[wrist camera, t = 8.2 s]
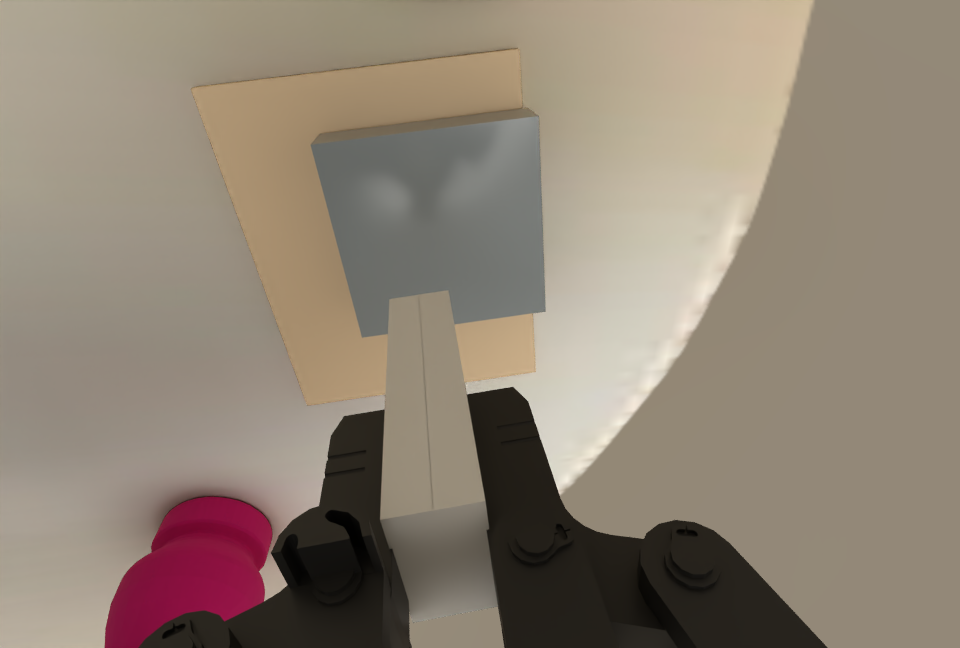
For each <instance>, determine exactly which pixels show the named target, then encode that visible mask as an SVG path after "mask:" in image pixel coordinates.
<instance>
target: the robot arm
mask: <svg viewBox="0 0 960 648" xmlns="http://www.w3.org/2000/svg"><path fill="white" fill-rule="evenodd" d="M271 554H272V556H273V558H274V560H275V562H276V563H277V565H278V567H279V569H280V571H281V573H282V575H283V577H284V579H285V580H286V582H287V584H288V585H287V586H286V587H285V588H284V589H283V590H282V591H281V592H279V593H278V594H276V595H274V596H273V597H271V598H269V599H268V600H266V601H264V602H262V603H260V604H258V605H256V606H254V607H252V608H250V609H248V610H246V611H244V612H242V613H240V614H238V615H236V616H234V617H232V618H230V619H228V620H226V621H224V620H223V619H222V618H221V616H220V615H218V614H215V613H212V612H209V611H205V610H202V611H196V612H189V613H185V614H182V615H180V616H178V617H176V618H174V619H172V620H170V621H168V622H166V623H164V624H163V625H162V626H161V627H159V628H158V629H157V630H156V631H154V632H153V633H152V634H151V635H150V636H148V637H147V638H146V639H145V640H144V641H143V642H142V644H141V645H140V646H139V647H138V648H412V646H411V643H410V640H409V612H410V615H411V618H412V622H413V623H414V622H420V621H425V620H430V619H436V618H440V617H446V616H451V615H456V614H462V613H466V612H472V611H477V610H482V609H488V608H492V607H498V609H499V615H500V621H501V627H502V634H503V641H504V647H505V648H827V647H826V646H825V644H824V643H822V641H821V640H820V639H819V638H818V637H817V636H816V635H815V634H814V633H813V632H812V631H811V630H810V628H809V627H808V626H807V625H806V624H805V623H804V622H803V621H802V620H801V619H800V618H799V617H798V616H797V615H796V614H795V612H793V610H792V609H791V608H790V607H789V606H788V605H787V604H786V603H785V602H784V601H783V600H782V599H781V598H780V597H779V595H777V593H776V592H775V591H774V590H773V589H772V588H771V587H770V586H769V585H768V584H767V583H766V582H765V580H764V579H763V578H762V577H761V576H760V575H759V574H758V573H757V572H756V571H755V570H754V569H753V568H752V567H751V566H750V565H749V563H748V562H747V561H746V560H745V559H744V558H743V557H742V556H741V555H740V554H739V553H738V552H737V551H736V549H734V547H733V546H732V545H731V544H730V543H729V542H727V541H726V540H725V539H724V538H722V537H721V536H720V535H718V534H717V533H716V532H715V531H714V530H711V529H709V528H707V527H704V526H702V525H700V524H697V523H695V522H687V521H678V520H674V521H670V522H665V523H661V524H658V525H657V526H656V527H654V528H653V529H652V530H650V531H649V532H648V533H646V536H645V538H644V539H639V538H631V537H623V536H615V535H609V534H604V533H600V532H596V531H594V530H592V529H590V528H588V527H585V526H584V525H582V524H581V523H580V522H578V521H577V520H575V519H574V518H573V517H572V516H571V515H570V513H569V512H568V511H567V510H566V509H565V507H564V505H563V503H562V501H561V499H560V496H559V493H558V490H557V487H556V484H555V481H554V478H553V475H552V472H551V469H550V466H549V463H548V460H547V457H546V454H545V451H544V448H543V445H542V442H541V440H540V437H539V433H538V430H537V427H536V424H535V422H534V418H533V415H532V412H531V409H530V406H529V403H528V401H527V400H526V399H525V398H524V397H523V396H522V395H521V394H520V393H519V392H518V391H517V390H516V389H515V388H513V387H510V388H504V389H497V390H491V391H485V392H479V393H473V394H466V388H465V382H464V376H463V371H462V365H461V359H460V354H459V348H458V342H457V337H456V331H455V325H454V319H453V314H452V308H451V302H450V297H449V291H448V290H447V291H440V292H433V293H427V294H420V295H413V296H407V297H400V298H393V299H389V321H388V345H387V368H386V392H385V410H380V411H373V412H367V413H361V414H355V415H349V416H344V417H343V419H342V420H341V422H340V423H339V425H338V426H337V428H336V429H335V431H334V432H333V434H332V435H331V439H330V445H329V451H328V461H327V463H326V469H325V478H324V481H323V487H322V492H321V498H320V504H319V506H318V507H315V508H312V509H309V510H308V511H306V512H305V513H303V514H302V515H300V516H298V517H297V518H295V519H294V520H292V522H291V523H290V524H289V525H288V526H287V527H286V528H285V529H284V531H283V532H282V533H281V534H280V535H279V537H278V539H277V541H276V543H275V546H274V548H273V550H272V552H271Z"/></svg>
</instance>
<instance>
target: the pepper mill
mask: <svg viewBox="0 0 960 648" xmlns="http://www.w3.org/2000/svg"><path fill="white" fill-rule="evenodd" d="M271 540H272V529H271V526H270V524H269V522H268V520H267V519H266V518H265V516H264V515H263V514H262V513H261V512H259V511H258V510H257V509H255V508H254V507H252V506H251V505H248V504H246V503H244V502H241V501H238V500H234V499H229V498H225V497H203V498H196V499H192V500H189V501H185V502H183V503H181V504H179V505H178V506H176V507H174V508H173V509H172V510H170V511H169V513H168V514H167V515H166V516H165V518H164V520H163V522H162V524H161V526H160V528H159V530H158V532H157V534H156V536H155V538H154V540H153V542H152V546H151V550H152V553H150V554H148V555H146V556H145V557H143V558H142V559H140V560H139V561H137V562H136V563H135V564H134V565H133V566H132V567H131V568H130V569H129V570H128V571H127V573H126V574H125V575H124V577H123V579H122V581H121V582H120V585H119V587H118V589H117V591H116V594H115V596H114V598H113V601H112V603H111V606H110V611H109V615H108V620H107V624H106V631H105V648H138V647H139V646H140V645H141V644H142V642H143V641H144V640H145V639H146V638H147V637H148V636H150V635H151V634H152V633H153V632H154V631H156V630H157V629H158V628H159V627H161V626H162V625H163V624H164V623H166V622H168V621H170V620H172V619H174V618H176V617H178V616H180V615H182V614H185V613H189V612H196V611H202V610H205V611H209V612H212V613H215V614H218V615H220V616H221V618H222V619H223V620H224V621H226V620H228V619H230V618H232V617H234V616H236V615H238V614H240V613H242V612H244V611H246V610H248V609H250V608H252V607H254V606H256V605H258V604H260V603H262V602H264V596H265V589H264V583H263V579H262V577H261V575H260V573H259V571H260V569H261V568H262V567H263V566H264V563H265V561H266V558H267V554H268V551H269V547H270V544H271Z"/></svg>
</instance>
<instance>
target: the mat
mask: <svg viewBox="0 0 960 648" xmlns="http://www.w3.org/2000/svg"><path fill="white" fill-rule="evenodd" d="M190 89H191V91H192V94H193V97H194V100H195V102H196V105H197V108H198V110H199V113H200V116H201V119H202V121H203V124H204V127H205V129H206V132H207V135H208V138H209V140H210V143H211V146H212V148H213V151H214V154H215V157H216V159H217V162H218V165H219V167H220V170H221V173H222V176H223V178H224V181H225V184H226V186H227V189H228V192H229V195H230V197H231V200H232V203H233V205H234V208H235V211H236V214H237V216H238V219H239V222H240V224H241V227H242V230H243V233H244V235H245V238H246V241H247V244H248V246H249V249H250V252H251V254H252V257H253V260H254V263H255V265H256V268H257V271H258V273H259V276H260V279H261V282H262V284H263V287H264V290H265V292H266V295H267V298H268V301H269V303H270V306H271V309H272V311H273V314H274V317H275V320H276V322H277V325H278V328H279V330H280V333H281V336H282V339H283V341H284V344H285V347H286V349H287V352H288V355H289V358H290V360H291V363H292V366H293V368H294V371H295V374H296V377H297V379H298V382H299V385H300V388H301V390H302V393H303V396H304V398H305V401H306V404H307V406H309V405H316V404H323V403H330V402H336V401H343V400H350V399H357V398H363V397H370V396H377V395H384V394H385V392H386V368H387V345H388V334H385V335H378V336H371V337H364V338H362V336H361V332H360V328H359V325H358V321H357V317H356V313H355V310H354V306H353V302H352V298H351V295H350V291H349V287H348V283H347V280H346V276H345V272H344V268H343V265H342V261H341V257H340V253H339V250H338V246H337V242H336V239H335V235H334V231H333V227H332V224H331V220H330V216H329V212H328V209H327V205H326V201H325V197H324V194H323V190H322V186H321V182H320V179H319V175H318V171H317V167H316V164H315V160H314V156H313V152H312V149H311V143H312V142H313V141H314V140H315V139H316V138H317V136H318V135H319V134H322V133H330V132H338V131H346V130H354V129H362V128H370V127H378V126H386V125H394V124H402V123H410V122H418V121H426V120H434V119H442V118H450V117H458V116H466V115H474V114H482V113H490V112H498V111H506V110H514V109H522V90H521V70H520V50H519V49H517V48H515V49H507V50H499V51H490V52H482V53H474V54H465V55H457V56H449V57H440V58H432V59H424V60H415V61H407V62H398V63H390V64H382V65H373V66H365V67H357V68H348V69H340V70H332V71H323V72H315V73H307V74H298V75H290V76H282V77H273V78H265V79H257V80H248V81H240V82H231V83H223V84H215V85H206V86H198V87H194V88H190ZM454 325H455V331H456V337H457V342H458V348H459V354H460V359H461V365H462V371H463V376H464V382H471V381H478V380H485V379H491V378H498V377H505V376H512V375H518V374H525V373H532V372H536V368H535V348H534V328H533V313H531V314H524V315H517V316H510V317H503V318H496V319H489V320H482V321H475V322H468V323H461V324H454Z"/></svg>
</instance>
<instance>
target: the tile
mask: <svg viewBox="0 0 960 648" xmlns="http://www.w3.org/2000/svg"><path fill="white" fill-rule="evenodd" d="M311 149H312V152H313V156H314V160H315V164H316V167H317V171H318V175H319V179H320V182H321V186H322V190H323V194H324V197H325V201H326V205H327V209H328V212H329V216H330V220H331V224H332V227H333V231H334V235H335V239H336V242H337V246H338V250H339V253H340V257H341V261H342V265H343V268H344V272H345V276H346V280H347V283H348V287H349V291H350V295H351V298H352V302H353V306H354V310H355V313H356V317H357V321H358V325H359V328H360V332H361V336H362V338H364V337H371V336H378V335H385V334H388V321H389V299H393V298H400V297H407V296H413V295H420V294H427V293H433V292H440V291H447V290H448V291H449V297H450V302H451V308H452V314H453V319H454V324H461V323H468V322H475V321H482V320H489V319H496V318H503V317H510V316H517V315H524V314H531V313H538V312H545V283H544V254H543V225H542V196H541V168H540V139H539V116H538V115H537V114H535V113H534V112H533V111H531V110H530V109H529V108H522V109H514V110H506V111H498V112H490V113H482V114H474V115H466V116H458V117H450V118H442V119H434V120H426V121H418V122H410V123H402V124H394V125H386V126H378V127H370V128H362V129H354V130H346V131H338V132H330V133H322V134H319V135H318V136H317V138H316V139H315V140H314V141H313V142H312V143H311Z"/></svg>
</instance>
